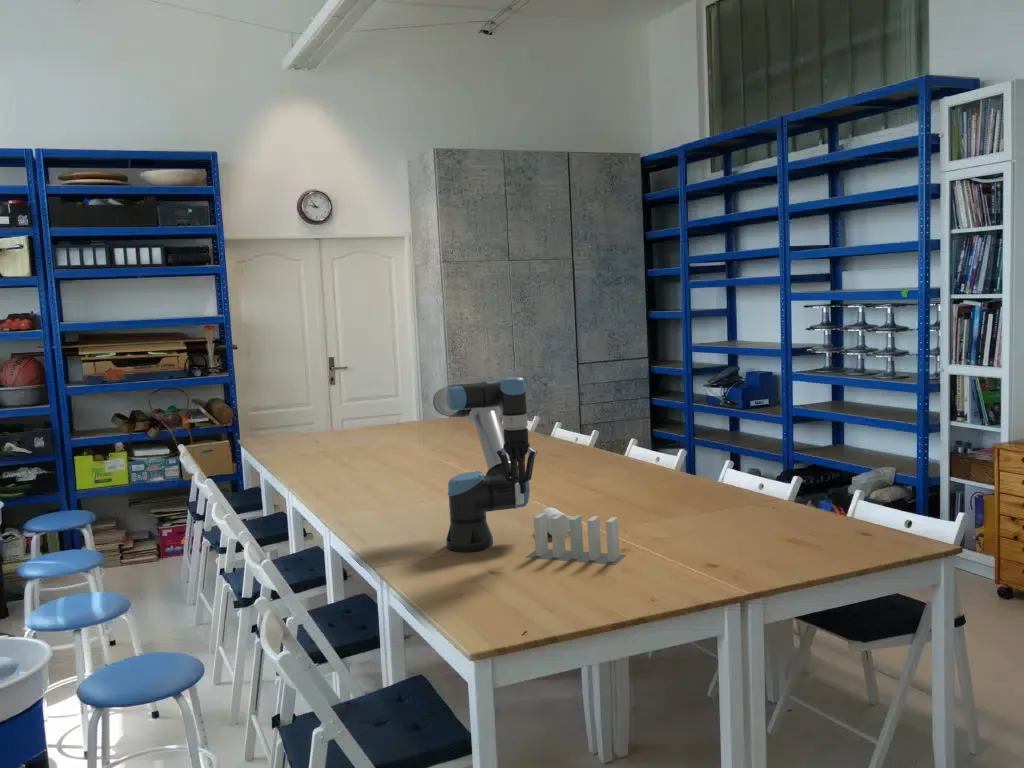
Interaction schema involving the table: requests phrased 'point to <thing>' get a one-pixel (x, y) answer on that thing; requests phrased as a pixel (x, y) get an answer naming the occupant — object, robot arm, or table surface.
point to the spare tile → (576, 536)
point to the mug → (551, 513)
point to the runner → (567, 557)
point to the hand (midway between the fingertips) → (520, 503)
